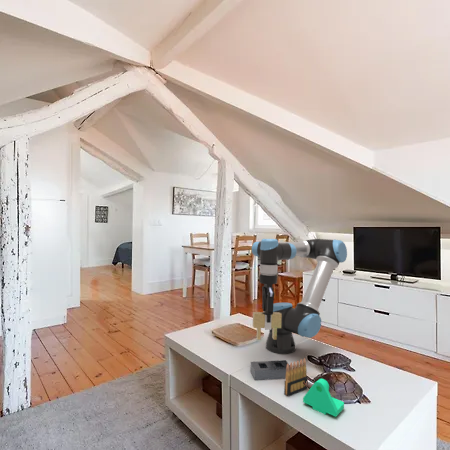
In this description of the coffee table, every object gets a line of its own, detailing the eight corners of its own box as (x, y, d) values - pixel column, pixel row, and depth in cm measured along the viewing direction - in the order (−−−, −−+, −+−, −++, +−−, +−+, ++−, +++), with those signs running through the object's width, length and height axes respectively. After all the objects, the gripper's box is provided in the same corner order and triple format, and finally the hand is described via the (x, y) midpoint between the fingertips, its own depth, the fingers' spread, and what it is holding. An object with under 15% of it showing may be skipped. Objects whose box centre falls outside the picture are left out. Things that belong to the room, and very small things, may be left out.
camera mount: (345, 409, 106) (345, 380, 106) (335, 420, 101) (336, 388, 101) (313, 396, 114) (313, 369, 114) (303, 405, 109) (303, 376, 109)
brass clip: (279, 337, 135) (279, 312, 135) (280, 339, 132) (281, 314, 132) (252, 337, 134) (252, 312, 134) (253, 339, 131) (254, 313, 131)
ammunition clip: (287, 397, 114) (287, 364, 114) (284, 394, 115) (284, 362, 115) (307, 389, 119) (307, 358, 119) (304, 386, 121) (304, 356, 121)
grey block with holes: (285, 369, 135) (285, 360, 135) (292, 378, 127) (292, 368, 127) (250, 371, 133) (250, 361, 133) (254, 380, 125) (254, 370, 125)
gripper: (256, 271, 141) (255, 322, 140) (263, 276, 125) (262, 334, 124) (272, 271, 141) (271, 322, 141) (281, 277, 125) (280, 334, 125)
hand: (266, 328), depth 133 cm, fingers closed on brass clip, 3 cm apart
